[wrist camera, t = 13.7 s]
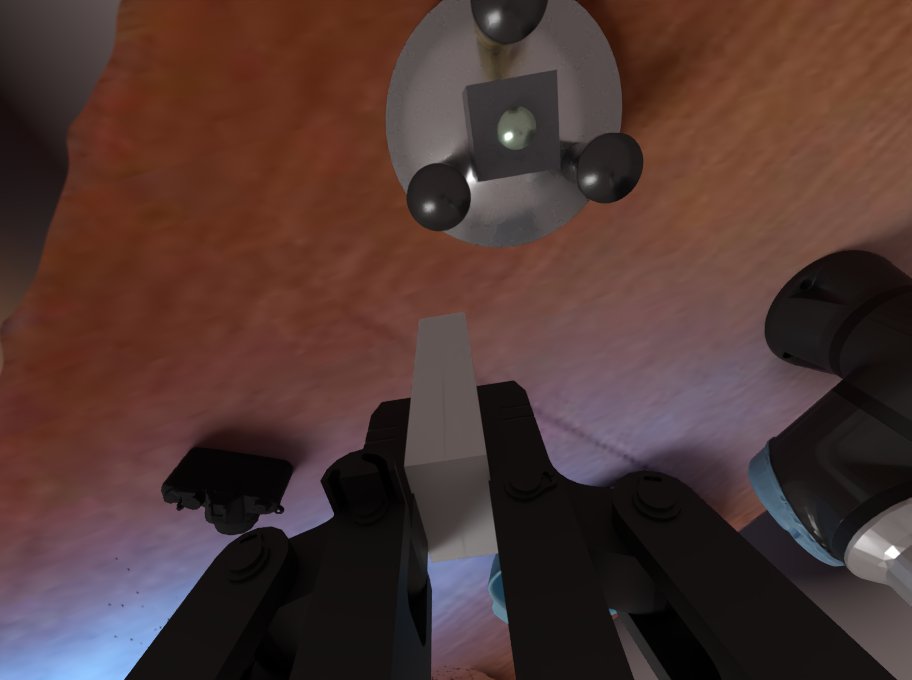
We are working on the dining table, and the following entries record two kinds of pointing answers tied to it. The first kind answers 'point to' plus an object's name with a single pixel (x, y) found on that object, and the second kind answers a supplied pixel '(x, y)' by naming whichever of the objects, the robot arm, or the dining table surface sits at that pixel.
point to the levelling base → (474, 64)
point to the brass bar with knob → (505, 20)
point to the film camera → (228, 487)
